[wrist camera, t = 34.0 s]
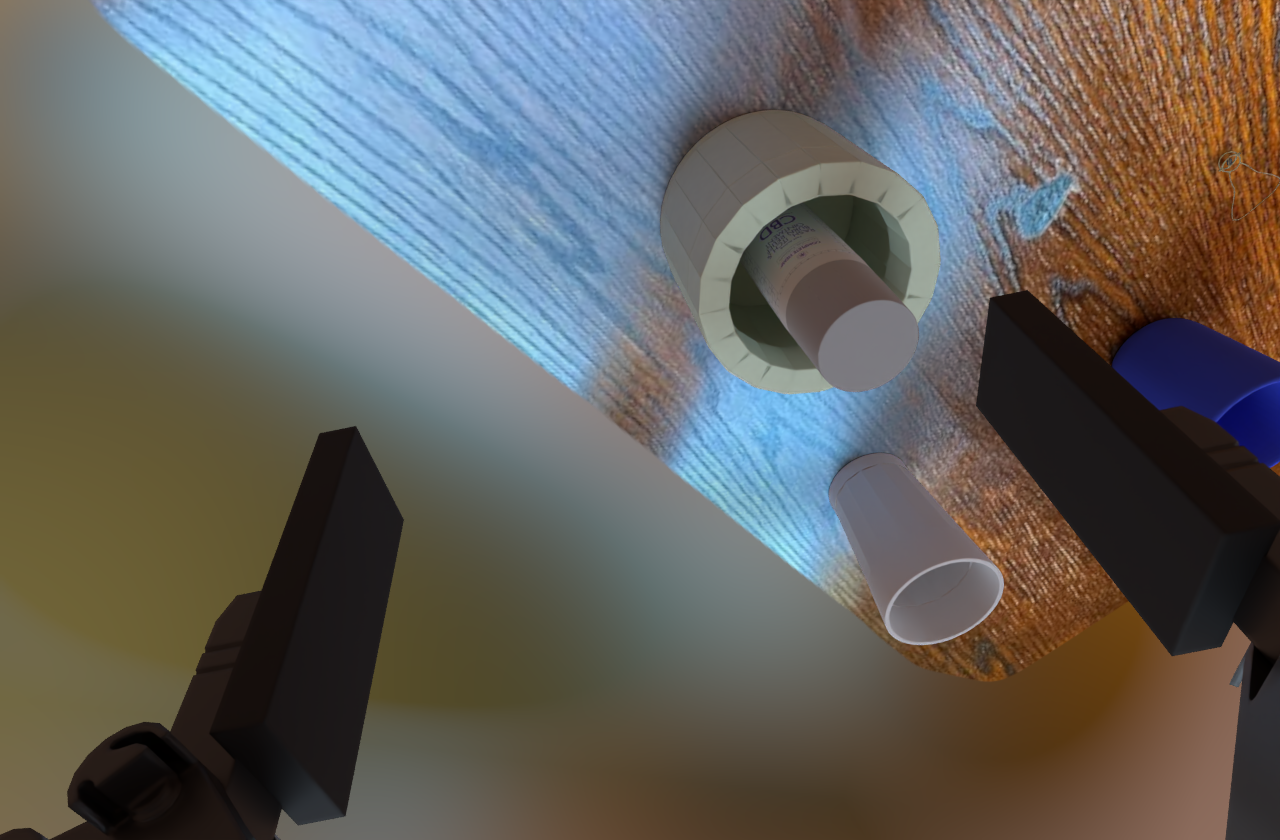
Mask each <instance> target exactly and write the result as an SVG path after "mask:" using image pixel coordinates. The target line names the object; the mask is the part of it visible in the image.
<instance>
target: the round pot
mask: <svg viewBox="0 0 1280 840" xmlns="http://www.w3.org/2000/svg"><path fill="white" fill-rule="evenodd" d="M802 202H804V203H805V204H806V205H807V206H808V207H809V208H810V209H811V210H812V211H813V212H814V213H815V214H816V215H817V216H818V217H819V218H820V219H821V220H822V221H823V222H824V223H825V224H826V225H827V226H828V227H829V228H830V229H832V230H833V231H834V232H835V233H836V234H837V235H838V236H839V237H840V238H841V239H842V240H843V241H844V242H845V243H846V244H847V245H848V246H849V247H850V248H851V249H852V250H853V251H854V252H855V253H856V254H857V255H858V256H860V257H861V258H862V259H863V260H864V261H865V262H866V264H867V265H868V266H869V267H870V268H871V269H872V270H873V271H874V272H875V273H876V274H877V276H878V277H879V278H880V279H881V280H882V281H883V282H884V283H885V284H886V285H887V286H888V287H889V288H890V289H891V291H892V292H893V293H894V294H895V295H896V296H897V297H898V298H899V299H900V300H901V301H902V302H903V303H904V304H905V305H906V307H907V308H908V309H909V310H910V311H911V312H912V313H913V315H914V316H915V318H916V321H917V324H918V322H919V320H920V319H921V317H922V315H923V313H924V312H925V310H926V308H927V306H928V305H929V303H930V301H931V298H932V296H933V292H934V288H935V284H936V280H937V276H938V272H939V268H940V248H939V234H938V226H937V224H936V221H935V219H934V217H933V215H932V213H931V211H930V209H929V207H928V205H927V203H926V201H925V198H924V197H923V196H922V194H920V193H919V192H918V191H917V190H916V189H915V188H914V187H912V186H911V185H910V184H909V183H908V182H907V181H906V180H904V179H903V178H902V177H901V176H900V175H899V174H898V173H896V172H895V171H893V170H892V169H890V168H889V167H887V166H886V165H884V164H883V163H881V162H880V161H878V160H877V159H875V158H874V157H873V156H871V155H870V154H868V153H867V152H865V151H864V150H862V149H861V148H859V147H858V146H856V145H855V144H853V143H852V142H850V141H849V140H847V139H846V138H845V137H843V136H842V135H840V134H839V133H837V132H836V131H834V130H833V129H831V128H830V127H828V126H827V125H825V124H824V123H822V122H819V121H816V120H815V119H813V118H811V117H808V116H806V115H803V114H800V113H796V112H791V111H784V110H764V111H757V112H752V113H748V114H744V115H742V116H739V117H736V118H733V119H731V120H729V121H727V122H725V123H723V124H721V125H719V126H718V127H716V128H715V129H713V130H712V131H710V132H709V133H707V134H706V135H705V136H704V137H703V138H702V139H701V140H699V141H698V142H697V143H696V144H695V145H694V146H693V147H692V148H691V150H690V151H689V152H688V153H687V154H686V155H685V157H684V158H683V159H682V161H681V162H680V164H679V165H678V167H677V168H676V170H675V172H674V174H673V176H672V178H671V180H670V182H669V185H668V187H667V190H666V192H665V196H664V200H663V204H662V210H661V218H660V233H661V240H662V246H663V249H664V253H665V256H666V259H667V261H668V263H669V266H670V270H671V272H672V274H673V276H674V278H675V280H676V282H677V284H678V286H679V288H680V290H681V292H682V294H683V296H684V299H685V301H686V303H687V305H688V307H689V309H690V311H691V313H692V315H693V317H694V319H695V321H696V323H697V325H698V327H699V329H700V331H701V333H702V335H703V337H704V339H705V341H706V343H707V345H708V347H709V348H710V350H711V351H712V352H713V353H714V355H715V356H716V357H717V359H718V360H719V361H720V362H721V364H722V365H723V366H724V368H725V369H726V370H727V371H728V372H730V373H731V374H733V375H735V376H736V377H738V378H740V379H741V380H743V381H745V382H746V383H748V384H750V385H751V386H753V387H756V388H759V389H764V390H768V391H773V392H778V393H783V394H798V393H810V392H820V391H824V390H827V389H830V388H833V387H834V386H832V385H831V384H829V383H828V382H827V381H826V380H825V379H824V377H823V376H822V375H821V373H820V372H819V371H818V369H817V368H816V367H815V366H814V364H813V363H812V362H811V360H810V359H809V358H808V356H807V355H806V354H805V352H804V351H803V350H802V349H801V347H800V346H799V345H798V343H797V342H796V341H795V339H794V338H793V337H792V335H791V334H790V333H789V332H788V330H787V329H786V328H785V326H784V325H783V324H782V322H781V321H780V319H779V318H778V316H777V315H776V313H775V312H774V311H773V309H772V308H771V306H770V305H769V303H768V302H767V300H766V299H765V297H764V296H763V295H762V293H761V292H760V290H759V289H758V287H757V286H756V284H755V283H754V282H753V280H752V279H751V277H750V276H749V274H748V273H747V271H746V270H745V268H744V267H743V266H742V264H741V263H740V261H739V260H740V258H741V256H742V253H743V251H744V250H745V249H746V248H747V246H748V245H749V244H750V243H751V241H752V240H753V239H754V238H755V236H756V235H757V234H758V233H759V231H760V230H761V229H762V228H763V226H765V225H766V224H768V223H769V222H770V221H772V220H773V219H774V218H776V217H777V216H779V215H780V214H781V213H783V212H784V211H785V210H787V209H788V208H790V207H791V206H794V205H797V204H800V203H802Z"/></svg>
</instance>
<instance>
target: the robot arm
mask: <svg viewBox="0 0 1280 840" xmlns="http://www.w3.org/2000/svg"><path fill="white" fill-rule="evenodd" d="M976 406H977V407H978V409H979V410H980V411H981V412H982V414H983V415H984V416H985V418H986V419H987V420H988V421H989V423H990V424H991V425H992V426H993V428H994V429H995V430H996V432H997V433H998V434H999V435H1000V437H1001V438H1002V439H1003V441H1004V442H1005V443H1006V444H1007V446H1008V447H1009V448H1010V450H1011V451H1012V452H1013V453H1014V455H1015V456H1016V457H1017V459H1018V460H1019V461H1020V462H1021V464H1022V465H1023V466H1024V467H1025V469H1026V470H1027V471H1028V473H1029V474H1030V475H1031V476H1032V478H1033V479H1034V480H1035V482H1036V483H1037V484H1038V485H1039V487H1040V488H1041V489H1042V491H1043V492H1044V493H1045V494H1046V496H1047V497H1048V498H1049V499H1050V501H1051V502H1052V503H1053V505H1054V506H1055V507H1056V508H1057V510H1058V511H1059V512H1060V514H1061V515H1062V516H1063V517H1064V519H1065V520H1066V521H1067V523H1068V524H1069V525H1070V526H1071V528H1072V529H1073V530H1074V531H1075V533H1076V534H1077V535H1078V537H1079V538H1080V539H1081V540H1082V542H1083V543H1084V544H1085V546H1086V547H1087V548H1088V549H1089V551H1090V552H1091V553H1092V555H1093V556H1094V557H1095V558H1096V560H1097V561H1098V562H1099V563H1100V565H1101V566H1102V567H1103V569H1104V570H1105V571H1106V572H1107V574H1108V575H1109V576H1110V578H1111V579H1112V580H1113V581H1114V583H1115V584H1116V585H1117V587H1118V588H1119V589H1120V590H1121V592H1122V593H1123V594H1124V595H1125V597H1126V598H1127V599H1128V601H1129V602H1130V603H1131V604H1132V605H1133V607H1134V608H1135V610H1136V611H1137V612H1138V613H1139V615H1140V616H1141V617H1142V619H1143V620H1144V621H1145V622H1146V624H1147V625H1148V626H1149V627H1150V629H1151V630H1152V631H1153V633H1154V634H1155V635H1156V636H1157V638H1158V639H1159V640H1160V642H1161V643H1162V644H1163V645H1164V647H1165V648H1166V649H1167V650H1168V652H1169V653H1170V654H1171V656H1175V655H1181V654H1186V653H1191V652H1197V651H1201V650H1207V649H1212V648H1217V647H1221V646H1222V644H1223V642H1224V640H1225V638H1226V636H1227V634H1228V632H1229V630H1230V628H1231V626H1232V624H1233V622H1234V623H1235V624H1236V625H1237V626H1238V627H1239V629H1240V630H1241V631H1242V632H1243V633H1244V634H1245V635H1246V636H1247V637H1248V639H1249V640H1250V641H1251V644H1250V645H1249V647H1248V649H1247V651H1246V653H1245V655H1244V657H1243V659H1242V660H1241V662H1240V664H1239V666H1238V668H1237V670H1236V672H1235V674H1234V676H1233V678H1232V680H1231V682H1230V685H1233V686H1236V687H1239V685H1240V683H1241V681H1242V687H1241V697H1240V706H1239V716H1238V725H1237V735H1236V744H1235V754H1234V763H1233V773H1232V782H1231V793H1230V801H1229V811H1228V820H1227V830H1226V840H1280V477H1279V476H1278V475H1277V474H1276V473H1275V472H1274V471H1272V470H1271V469H1270V468H1269V467H1268V466H1267V465H1265V464H1264V463H1259V462H1258V458H1257V457H1256V456H1255V455H1254V454H1252V453H1251V452H1250V451H1249V450H1248V449H1247V448H1245V447H1244V446H1239V442H1238V441H1237V440H1236V439H1235V438H1234V437H1233V436H1231V435H1230V434H1229V433H1228V432H1227V431H1225V430H1224V429H1223V428H1222V427H1221V426H1220V425H1218V424H1217V423H1216V422H1215V421H1213V420H1211V419H1209V418H1207V417H1204V416H1202V415H1200V414H1198V413H1196V412H1194V411H1192V410H1190V409H1188V408H1185V407H1183V406H1178V407H1173V408H1168V409H1163V410H1158V409H1157V408H1156V407H1155V406H1154V405H1153V404H1152V403H1151V402H1150V401H1149V400H1147V399H1146V398H1145V397H1144V396H1143V395H1142V394H1141V393H1140V392H1139V391H1138V390H1137V389H1135V388H1134V387H1133V386H1132V385H1131V384H1130V383H1129V382H1128V381H1127V380H1126V379H1124V378H1123V377H1122V376H1121V375H1120V374H1119V373H1118V372H1117V371H1116V370H1115V369H1113V368H1112V367H1111V366H1110V365H1109V364H1108V363H1107V362H1106V361H1105V360H1104V359H1102V358H1101V357H1100V356H1099V355H1098V354H1097V353H1096V352H1095V351H1094V350H1093V349H1091V348H1090V347H1089V346H1088V345H1087V344H1086V343H1085V342H1084V341H1083V340H1082V339H1081V338H1079V337H1078V336H1077V335H1076V334H1075V333H1074V332H1073V331H1072V330H1071V329H1070V328H1068V327H1067V326H1066V325H1065V324H1064V323H1063V322H1062V321H1061V320H1060V319H1059V318H1057V317H1056V316H1055V315H1054V314H1053V313H1052V312H1051V311H1050V310H1049V309H1048V308H1046V307H1045V306H1044V305H1043V304H1042V303H1041V302H1040V301H1039V300H1038V299H1037V298H1036V297H1034V296H1033V295H1032V294H1031V293H1030V292H1029V291H1028V290H1026V291H1021V292H1016V293H1011V294H1006V295H1002V296H997V297H992V298H990V302H989V309H988V317H987V325H986V333H985V340H984V348H983V356H982V364H981V371H980V379H979V387H978V395H977V402H976ZM403 521H404V519H403V517H402V516H401V514H400V512H399V510H398V508H397V506H396V504H395V502H394V500H393V498H392V496H391V494H390V492H389V490H388V488H387V486H386V484H385V482H384V480H383V478H382V476H381V474H380V472H379V470H378V468H377V467H376V464H375V463H374V461H373V459H372V457H371V455H370V453H369V451H368V449H367V447H366V445H365V443H364V441H363V439H362V437H361V435H360V433H359V431H358V429H357V427H356V426H354V427H349V428H345V429H339V430H334V431H329V432H324V433H320V434H319V436H318V439H317V442H316V444H315V447H314V450H313V453H312V455H311V458H310V461H309V463H308V466H307V469H306V471H305V474H304V477H303V480H302V483H301V485H300V488H299V491H298V493H297V496H296V499H295V501H294V504H293V507H292V510H291V512H290V515H289V518H288V521H287V523H286V526H285V528H284V531H283V534H282V537H281V539H280V542H279V545H278V548H277V550H276V553H275V556H274V558H273V561H272V564H271V566H270V570H269V572H268V574H267V577H266V580H265V583H264V585H263V589H262V591H257V592H252V593H247V594H243V595H237V596H236V597H235V599H234V600H233V601H232V602H231V603H230V605H229V606H228V607H227V608H226V610H225V611H224V612H223V613H222V614H221V616H220V617H219V618H218V619H217V621H216V622H215V625H214V627H213V629H212V632H211V634H210V637H209V639H208V642H207V644H206V646H205V653H203V654H202V656H201V658H200V661H199V663H198V666H197V668H196V672H197V673H196V675H194V676H193V678H192V680H191V683H190V685H189V688H188V690H187V692H186V695H185V697H184V700H183V702H182V705H181V707H180V709H179V712H178V714H177V717H176V719H175V721H174V724H173V726H172V729H171V731H168V730H167V729H166V728H165V727H164V726H162V725H161V724H160V723H150V722H143V723H139V724H136V725H132V726H129V727H126V728H124V729H122V730H120V731H119V732H117V733H115V734H113V735H112V736H110V737H108V738H107V739H105V740H104V741H103V742H102V743H101V744H100V745H99V746H98V747H96V748H95V749H94V750H93V751H92V752H91V753H90V754H89V755H88V756H87V757H86V759H85V760H84V761H83V763H82V764H81V765H80V767H79V768H78V769H77V771H76V772H75V773H74V776H73V778H72V781H71V783H70V786H69V789H68V791H67V794H68V807H69V808H71V809H72V810H73V811H74V812H76V813H77V814H78V815H80V816H81V817H82V818H84V819H85V820H87V822H85V823H83V824H80V825H78V826H76V827H74V828H72V829H71V830H68V831H66V832H64V833H62V834H61V835H58V836H56V837H54V838H52V839H50V840H280V839H279V838H278V837H277V836H276V835H275V832H276V828H277V824H278V820H279V817H280V813H281V809H283V810H284V811H285V812H286V813H287V814H288V815H289V817H291V819H293V821H294V822H295V823H296V824H297V825H303V824H308V823H313V822H318V821H323V820H329V819H334V818H339V817H344V816H345V815H346V810H347V806H348V800H349V795H350V790H351V785H352V780H353V775H354V770H355V764H356V760H357V755H358V750H359V744H360V740H361V734H362V729H363V724H364V719H365V714H366V709H367V704H368V699H369V694H370V688H371V684H372V678H373V674H374V669H375V663H376V658H377V653H378V648H379V643H380V638H381V633H382V627H383V623H384V618H385V612H386V608H387V603H388V597H389V592H390V587H391V582H392V577H393V572H394V567H395V562H396V557H397V552H398V547H399V542H400V537H401V532H402V526H403ZM0 840H48V839H47V838H45V837H44V836H43V835H41V834H40V833H38V832H36V831H35V830H33V829H31V828H23V829H13V830H11V831H8V832H6V833H3V834H1V835H0Z"/></svg>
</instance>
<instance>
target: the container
mask: <svg viewBox="0 0 1280 840" xmlns="http://www.w3.org/2000/svg"><path fill="white" fill-rule="evenodd" d="M739 261H740V263H741V264H742V266H743V267H744V268H745V270H746V271H747V273H748V274H749V276H750V277H751V279H752V280H753V282H754V283H755V284H756V286H757V287H758V289H759V290H760V292H761V293H762V295H763V296H764V297H765V299H766V300H767V302H768V303H769V305H770V306H771V308H772V309H773V311H774V312H775V313H776V315H777V316H778V318H779V319H780V321H781V322H782V324H783V325H784V326H785V328H786V329H787V330H788V332H789V333H790V334H791V335H792V337H793V338H794V339H795V341H796V342H797V343H798V345H799V346H800V347H801V349H802V350H803V351H804V352H805V354H806V355H807V356H808V358H809V359H810V360H811V362H812V363H813V364H814V366H815V367H816V368H817V369H818V371H819V372H820V373H821V375H822V376H823V377H824V379H825V380H826V381H827V382H828V383H829V384H831V385H832V386H834V387H835V388H837V389H840V390H843V391H848V392H862V391H868V390H871V389H874V388H877V387H880V386H882V385H884V384H885V383H887V382H889V381H890V380H892V379H893V378H894V377H896V376H897V375H898V374H899V373H900V372H901V371H902V370H903V369H904V368H905V367H906V366H907V364H908V363H909V361H910V360H911V358H912V356H913V355H914V352H915V350H916V347H917V343H918V338H919V329H918V324H917V321H916V318H915V316H914V315H913V313H912V312H911V311H910V310H909V309H908V308H907V307H906V305H905V304H904V303H903V302H902V301H901V300H900V299H899V298H898V297H897V296H896V295H895V294H894V293H893V292H892V291H891V289H890V288H889V287H888V286H887V285H886V284H885V283H884V282H883V281H882V280H881V279H880V278H879V277H878V276H877V274H876V273H875V272H874V271H873V270H872V269H871V268H870V267H869V266H868V265H867V264H866V262H865V261H864V260H863V259H862V258H861V257H860V256H858V255H857V254H856V253H855V252H854V251H853V250H852V249H851V248H850V247H849V246H848V245H847V244H846V243H845V242H844V241H843V240H842V239H841V238H840V237H839V236H838V235H837V234H836V233H835V232H834V231H833V230H832V229H830V228H829V227H828V226H827V225H826V224H825V223H824V222H823V221H822V220H821V219H820V218H819V217H818V216H817V215H816V214H815V213H814V212H813V211H812V210H811V209H810V208H809V207H808V206H807V205H806V204H805V203H804V202H802V203H800V204H797V205H794V206H791V207H790V208H788V209H787V210H785V211H784V212H783V213H781V214H780V215H779V216H777V217H776V218H774V219H773V220H772V221H770V222H769V223H768V224H766V225H765V226H763V228H762V229H761V230H760V231H759V233H758V234H757V235H756V236H755V238H754V239H753V240H752V241H751V243H750V244H749V245H748V246H747V248H746V249H745V250H744V251H743V253H742V256H741V258H740V260H739Z"/></svg>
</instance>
